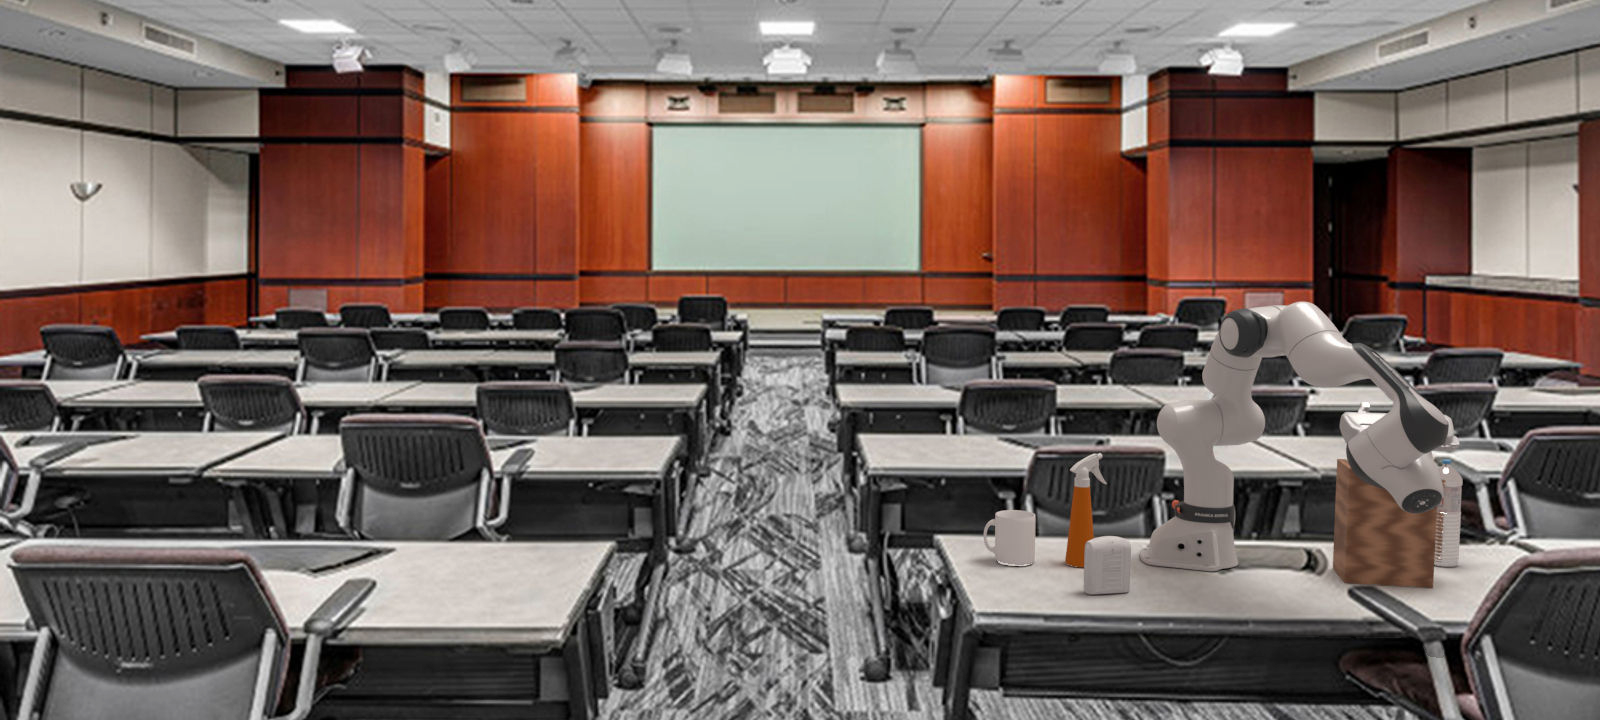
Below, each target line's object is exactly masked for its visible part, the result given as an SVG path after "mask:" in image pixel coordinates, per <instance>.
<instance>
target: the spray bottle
mask: <svg viewBox="0 0 1600 720" xmlns="http://www.w3.org/2000/svg"><path fill="white" fill-rule="evenodd" d="M1101 459H1103V454H1102V453H1101V452H1099V453H1092V454H1090V455H1088V456H1086V457H1084V458H1083V459H1080V460H1078V462H1076V463H1075V464H1074V465H1073V466H1072V467H1071V468H1070V469H1069V471H1070V472H1072V473H1074V474H1075V477H1074V480H1073V481H1074V484H1073V492H1072V500H1071V501H1072V502H1071V509H1070V517H1069V524H1068V525H1069V526H1068V535H1067V536H1068V537H1067V542H1066V543H1067V544H1066V552H1065V561H1064V562H1065V564H1066V563H1067V564H1069V565H1072V566H1077V567H1084V556H1085V544H1086V542H1087V541H1089V540H1092V539H1094V538H1095V535H1094V534H1095V533H1094V525H1093V524H1094V523H1093V511H1092V508H1093V507H1092V497H1091V495H1092V494H1091V484H1090V482H1091V479H1090V477H1089V474H1090V473H1092V474H1093V475H1094V476H1095V477H1096V479H1097V480H1098V481H1100V482H1101V483H1102V484H1104V485H1107V484H1108V483H1107V482H1106V480H1105V479H1104V477H1103V475H1102V472H1101V471H1100V468H1099V466H1100V462H1099V460H1101ZM1067 564H1066V565H1067ZM1069 565H1068V566H1069Z"/></svg>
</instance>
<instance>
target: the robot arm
mask: <svg viewBox="0 0 1600 720" xmlns="http://www.w3.org/2000/svg"><path fill="white" fill-rule="evenodd" d="M1281 356H1282V357H1283V356H1285V357H1286V358H1287V360H1288V361H1289V363H1290V365H1291V366H1292V369H1293V370H1294V371H1295V373H1296V374H1297V375H1298V377H1299V378H1300V379H1301V380H1303V381H1304V382H1305V383H1306V384H1308V385H1311V386H1313V387H1317V388H1335V387H1341V386H1344V385H1345V386H1346V385H1347V384H1351V383H1353V382H1357V381H1362V380H1367V379H1368V380H1369V379H1370V380H1371V381H1372V382H1373V384H1375V385H1376V386H1377V388H1379V390H1381V392H1382V393H1383V394H1384V395H1385V396H1386V397H1387V398H1388V399H1389V400H1390V401H1391V403H1392V407H1391V409H1390V410H1389V412H1370V408H1371V406H1370V403H1369V402H1368V401H1367V402H1365V401H1364V402H1363V401H1362V402H1361V401H1360V403H1359V408H1358V410H1357V412H1354V411H1353V412H1352V411H1345V412H1344V413H1343V414H1342V415H1341V417H1340V420H1339V430H1340V433H1341V436H1342V438H1343V440H1344V442H1345V444H1346V446H1345V447H1346V448H1345V454H1346V459H1347V460H1348V463H1349V465H1350V467H1351V469H1352V471H1353V472H1354V473H1355V475H1356V476H1357V477H1359V478H1360V479H1361V480H1362V481H1364V482H1365V483H1367V484H1369V485H1372V486H1375V487H1378V488H1381V489H1386V490H1387V491H1388V492H1389V493H1390V494H1391V495H1392V496H1393V498H1394V499H1395V501H1396V502H1397V504H1398V505H1399V507H1400V508H1401V509H1402V510H1404V511H1405V512H1408V513H1412V514H1419V513H1424V512H1427V511H1429V510H1431V509H1433V508H1434V507H1436V506H1437V505H1439V504H1440V503H1441V501H1442V499H1443V484H1442V480H1441V476H1440V473H1439V470H1438V468H1439V467H1438V465H1437V463H1436V462H1435V461H1434V460H1433V459H1434V458H1433V457H1434V456H1433V455H1434V454H1433V451H1437V452H1438V451H1444V452H1451V451H1454V450H1457V449H1458V448H1460V446H1461V444H1460V441H1459V438H1458V437H1457V436H1456V435H1455V429H1454V423H1453V419H1452V418H1451V417H1449V415H1446V414H1443V413H1442V411H1441V410H1439V408H1437V407H1436V406H1435V405H1434V404H1433V403H1431V402H1430V401H1428V399H1426V398H1425V397H1424V396H1423V395H1422V394H1420V393H1419V392H1418V391H1417V389H1416V388H1414V386H1413V385H1411V384H1410V383H1409V382H1408V381H1407V380H1406V378H1404V377H1403V376H1402V375H1401V374H1400V373H1399V372H1398V371H1397V370H1396V369H1395V368H1394V367H1393V365H1391V364H1390V363H1389V362H1388V361H1387V360H1386V359H1385V358H1384V357H1382V356H1381V354H1379V353H1378V352H1377V351H1375V350H1374V349H1373V348H1371V347H1369V346H1368V345H1366V344H1364V343H1361V342H1355V343H1350V342H1348V341H1347V339H1345V338H1344V337H1343V335H1342V333H1341V332H1340V331H1339V330H1338V328H1337V327H1336V326H1335V324H1334V323H1333V322H1332V320H1331V319H1330V318H1329V317H1328V316H1327V314H1325V313H1324V312H1323V311H1322V310H1321V309H1320V308H1319V307H1318V306H1317V305H1315V303H1312V302H1309V301H1296V302H1293V303H1291V304H1288V305H1284V304H1283V305H1281V304H1279V305H1278V304H1277V305H1276V304H1275V305H1267V306H1259V307H1257V306H1255V307H1252V308H1245V307H1244V308H1243V307H1242V308H1239V309H1234V310H1231V311H1229V312H1228V313H1226V314H1225V315H1224V317H1223V318H1222V320H1221V323H1220V326H1219V329H1218V332H1217V334H1216V336H1215V337H1214V340H1213V342H1212V344H1211V346H1210V350H1209V352H1208V355H1207V359H1206V362H1205V365H1204V367H1203V370H1202V372H1201V373H1202V375H1201V376H1202V382H1203V384H1204V386H1205V388H1206V389H1207V390H1208V391H1209V392H1210V393H1211V394H1213V395H1214V396H1213V398H1210V399H1203V400H1202V399H1197V400H1196V399H1195V400H1194V399H1193V400H1179V401H1176V402H1171V403H1168V404H1165V405H1164V406H1163V407H1162V408H1161V409H1160V411H1159V413H1158V415H1157V419H1156V428H1157V432H1158V435H1159V436H1160V438H1161V439H1162V440H1163V442H1164V443H1166V444H1167V445H1168V446H1169V447H1171V448H1172V449H1173V450H1174V452H1175V453H1176V455H1177V456H1178V459H1179V461H1180V464H1181V466H1182V471H1183V472H1182V473H1183V486H1184V487H1183V488H1184V489H1183V492H1184V493H1183V494H1184V495H1183V500H1182V501H1179V500H1177V499H1174V500H1173V501H1171V506H1172V508H1173V509H1174V516H1173V517H1172V518H1171V519H1169V520H1168V521H1166V522H1164V523H1163V524H1161V525H1159V526H1158V527H1157V528H1155V529H1154V530H1153V532H1152V534H1151V536H1150V540H1149V545H1148V546H1146V547H1144V548H1141V549H1140V551H1139V560H1140V561H1142V562H1143V563H1144V564H1146V565H1149V566H1155V567H1156V566H1157V567H1166V568H1167V567H1168V568H1175V569H1176V568H1177V569H1187V570H1193V571H1195V570H1196V571H1203V572H1205V571H1206V572H1217V571H1220V570H1222V569H1224V570H1225V569H1229V568H1234V567H1237V566H1238V565H1239V560H1238V557H1237V552H1236V545H1235V535H1234V528H1235V524H1236V509H1235V508H1236V506H1235V504H1234V485H1235V484H1234V483H1235V482H1234V481H1235V478H1234V477H1235V476H1234V473H1233V472H1232V469H1231V468H1230V466H1228V465H1226V464H1225V463H1223V462H1221V461H1219V460H1217V459H1216V457H1215V454H1214V447H1218V446H1219V447H1221V446H1222V447H1224V446H1225V447H1226V446H1241V445H1245V444H1249V443H1252V442H1256V441H1258V440H1259V439H1260V438H1261V436H1262V435H1263V434H1264V433H1263V432H1264V431H1265V427H1266V417H1265V415H1264V412H1263V409H1261V406H1259V405H1258V404H1257V403H1256V402H1255V401H1254V400H1253V398H1252V397H1253V396H1252V388H1253V385H1254V382H1255V379H1256V376H1257V373H1258V370H1259V367H1260V365H1261V362H1262V359H1263V358H1276V357H1281Z"/></svg>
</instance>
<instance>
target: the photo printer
mask: <svg viewBox="0 0 1600 720" xmlns="http://www.w3.org/2000/svg"><path fill="white" fill-rule="evenodd" d="M1131 555H1132V547H1131V542H1130V540H1128V539H1127V538H1123V537H1120V536H1114V535H1104V536H1103V535H1102V536H1099V537H1094V539H1092V540H1089V541H1087V542H1086V544H1085V556H1084V568H1083V592H1084V593H1085V594H1086V595H1107V594H1122V593H1129V592H1130V589H1131V562H1132V556H1131Z"/></svg>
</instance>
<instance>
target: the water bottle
mask: <svg viewBox="0 0 1600 720" xmlns="http://www.w3.org/2000/svg"><path fill="white" fill-rule="evenodd" d="M1441 462H1442V463H1441V464H1442V465H1441V466H1439V467H1437V468H1438V470H1439V473H1440V476H1441V480H1442V484H1443V499H1442V501H1441V503H1440V504H1439V505H1437V519H1436V539H1435V560H1434V565H1435V566H1434V567H1439V566H1441V567H1440V568H1455V567H1457V566H1458V565H1459V559H1460V558H1459V557H1460V541H1461V540H1460V537H1461V536H1460V534H1461V520H1462V516H1461V515H1462V510H1461V509H1462V508H1461V507H1462V488H1463V487H1462V486H1463V483H1464V482H1463V477H1462V475H1461V474H1460V473H1459V472H1458V471H1457V469H1455V468H1453V467H1452V466H1451V465H1452V460H1451V459H1445V458H1444V459H1442V460H1441Z"/></svg>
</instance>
